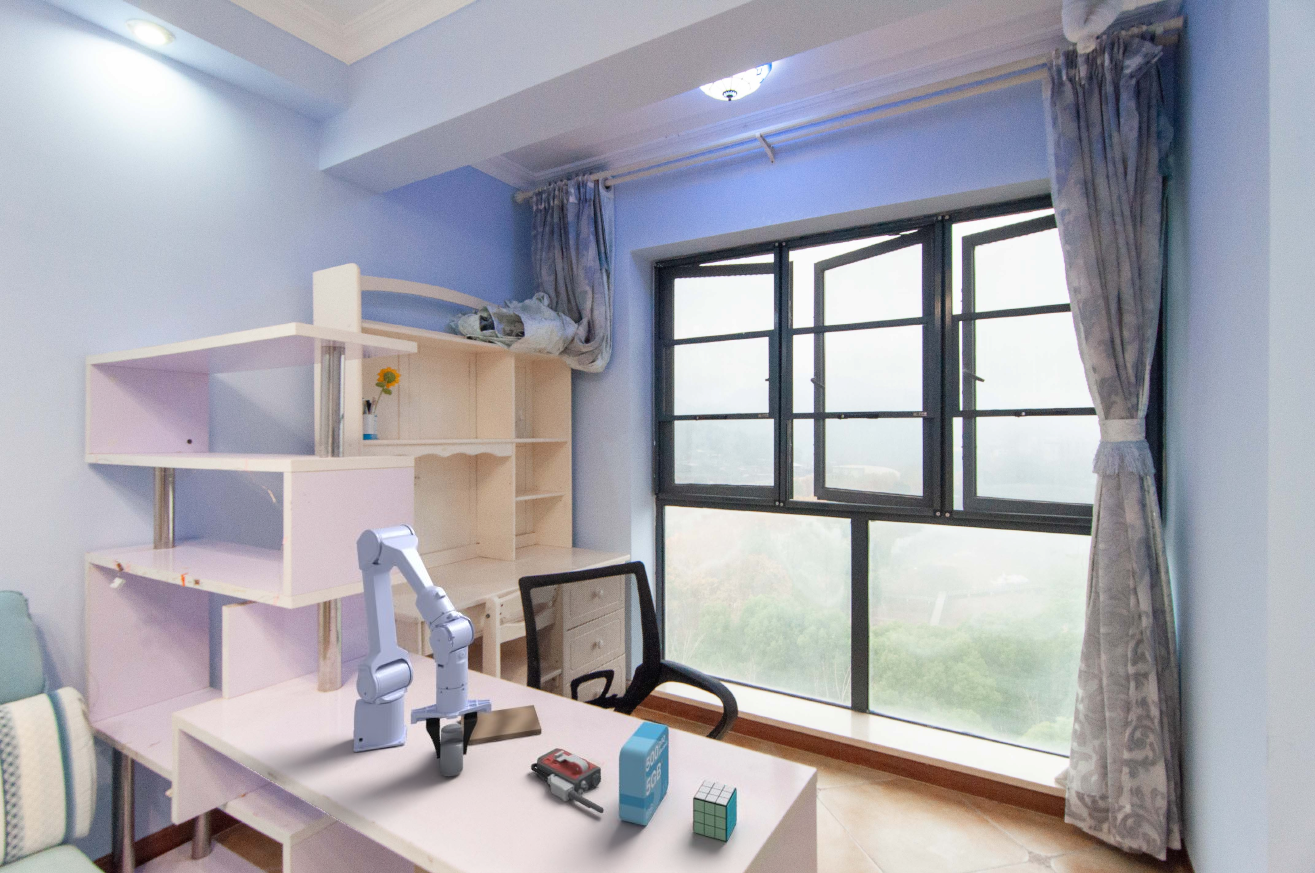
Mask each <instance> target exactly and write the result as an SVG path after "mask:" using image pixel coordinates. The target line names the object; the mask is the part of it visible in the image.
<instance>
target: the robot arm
mask: <svg viewBox="0 0 1315 873" xmlns="http://www.w3.org/2000/svg"><path fill="white" fill-rule="evenodd" d="M418 546H419V538H418V536H416V532H415V530H414V529H413V527H412V526H410V525H409V524H405V523H404V524H400V525H395V526H387V527H381V528H373V529H371V528H370V529H369V528H368V529H365V530H363V532H362V533H361V534H360V536H359V538H358V539H357V540H356V551H357V562H358V569H359V570H360V571H361V575H362V577H361V579H362V585H363V588H362V589H363V597H364V606H365V608H364V609H365V616H366V627H367V637H368V649H369V651H368V653H367V654H366V655H365V656H364V657H363V659H361V660H360V662H359V663H358V665H357V678H356V684H355V685H356V686H355V687H356V691H357V695H358V696H359V699H356V700H355V705H354V710H353V711H354V712H353V714H354V715H353V733H352V734H353V750H352V751H353V752H355V753H357V752H364V751H371V750H376V749H382V748H388V747H395V746H402V745H405V744H406V741H407V740H406V738H407V731H408V725H407V724H405V694H406V693H408V688H409V687H410V686H411V684H412V683H413V680H414V676H415V675H414V667H413V665H412V663H411V660H410V656H409V652H408V651H407V650H406V649H404V648H402V647H400V646H398V638H397V630H396V629H397V628H396V621H395V620H396V619H395V610H394V609H395V608H394V601H393V600H394V599H393V590H392V581H391V580H392V579H391V571H392V569H393V567H397V569H398V571H399V572H400V573H401V574H402V576H403V578H404V579H405V580H406V582H407V583H408V584H409V586H410V587H411V589H412V590H413V591H414V594H416V600H415V604H414V605H415V607H416V608H417V610H418V612H419V614H420V615H421V617H422V619H423V620H424V622H425V624H426V626H427V628H428V629H429V631H430V636H429V637H428V641H429V645H430V648H431V651H432V653H433V660H434V663H436V665H435V666H436V669H435V670H436V671H435V673H436V676H435V679H436V680H435V684H436V686H435V703H433V704H431V705H426V706H424V707H423V706H422V707H419V708H414V709H411V711H410V725H415V724H417V723H419V722H425V730H426V732H427V734H428V735H429V738H430V739H431V741H432V745H433V747H434V750H435V755H436V760H440V758H441V719H446V720H453V719H454V720H455V719H458V717H461V716H462V715H464V732H463V756H466V755H467V753H468V752H467V751H468V748H469V745H468V743H469V740H470V737H471V734H472V732H473V730H474V728H475V726H476V723H477V720H478V717H477V713H483V712H485V713H491V711H493V710H492V707H493V706H492V699H491V698H490V699H469V698H468V697H469V696H468V695H469V692H468V690H469V688H468V686H469V684H468V683H469V677H468V676H469V670H468V669H469V660H468V659H469V654H468V653H469V646H470V645H471V644H473V642H474V640H475V636H476V635H475V634H476V633H475V627H474V625H473V622H472V620H471V619H470V618H469V617H468V616H466V615H463V614H462V612H460V611H457V610H456V608H455V606H454V605H453V603H452V602H451V600H450V598H449V597H448V595H447V593H446V591H445V590H444V588H443V587H440V586H437V585H434V583H433V581H432V579H431V577H430V575H429V573H428V571H427V568H426V567H425V564H424V562H423V560H422V558H421V556H420V553H419V552H418Z"/></svg>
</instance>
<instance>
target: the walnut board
mask: <svg viewBox="0 0 1315 873" xmlns="http://www.w3.org/2000/svg"><path fill="white" fill-rule="evenodd" d="M477 717H478V720H477V723H476V726H475V728H474V730H473V732H472V734H471V737H470V740H469V743H468V746H471V745H475V744H482V743H483V744H484V743H488V742H489V743H490V742H494V741H495V742H496V741H501V740H502V741H503V740H507V739H515V738H520V737H521V738H522V737H526V736H534V735H541V734H542V726H541V723H540V720H539V716H538V713H537V710H536V707H535V705H534V704H531V705H524V706H517V707H509V708H504V709H503V708H501V709H496V710H491V713H485V712H483V713H477ZM460 725H462V727H463V732H464V715H462V716H460Z"/></svg>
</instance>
